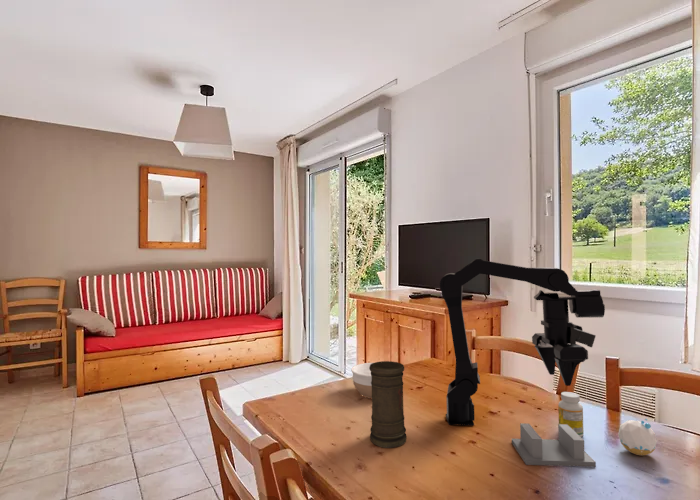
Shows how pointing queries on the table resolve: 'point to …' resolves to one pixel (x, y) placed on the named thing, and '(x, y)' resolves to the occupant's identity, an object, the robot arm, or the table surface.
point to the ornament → (637, 437)
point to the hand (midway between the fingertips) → (559, 379)
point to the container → (387, 404)
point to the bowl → (363, 379)
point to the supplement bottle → (571, 412)
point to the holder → (552, 448)
